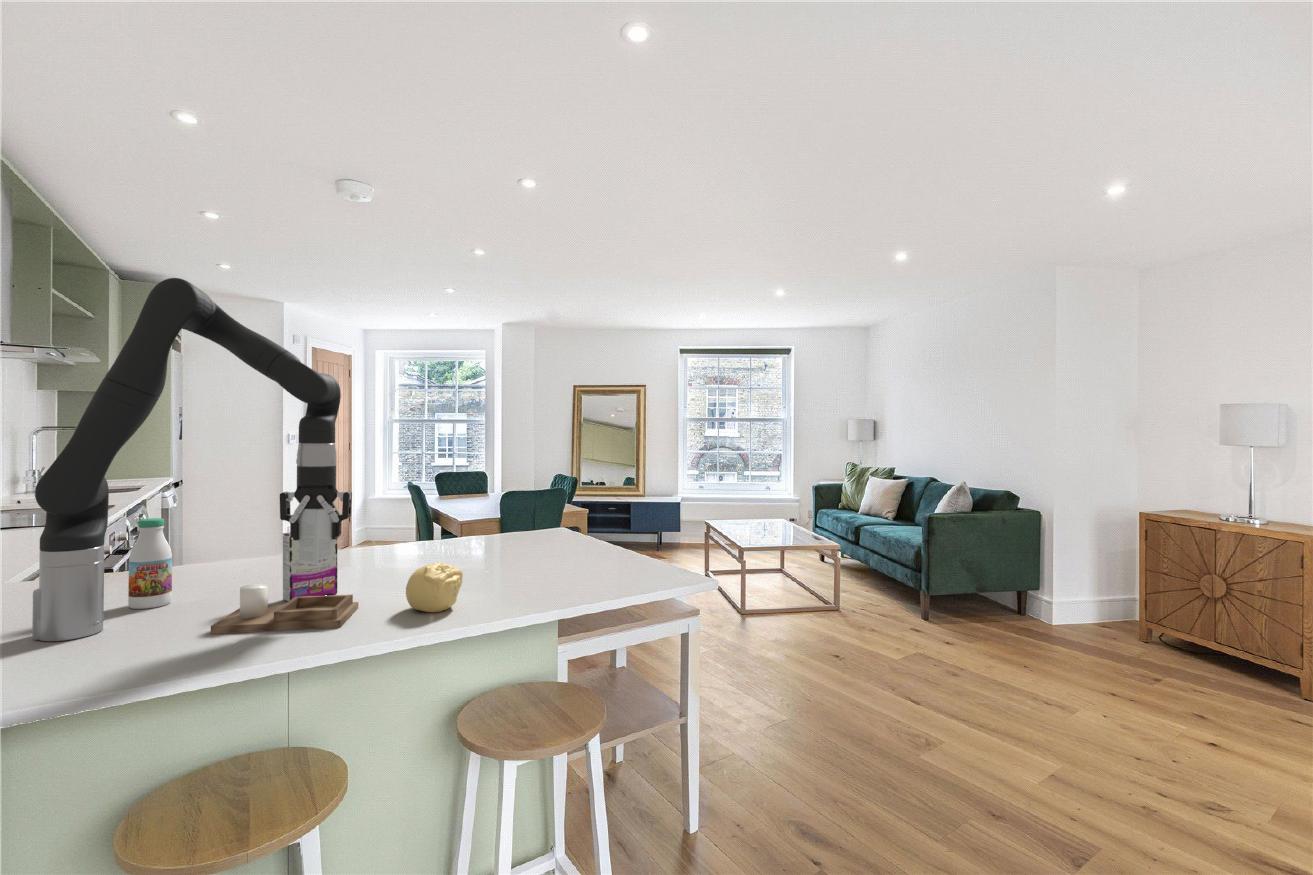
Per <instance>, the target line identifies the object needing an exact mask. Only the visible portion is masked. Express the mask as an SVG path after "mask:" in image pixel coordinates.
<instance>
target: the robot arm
mask: <svg viewBox="0 0 1313 875" xmlns="http://www.w3.org/2000/svg"><path fill="white" fill-rule="evenodd" d="M142 306H143V307H142V308H141V310H140V312H139V313H140V314H139V316H138V318H137V320H136V322H135V325H134V328H133V329H132V331H131V332H130V335H129V336H128V338H127V340H126V341H125V343H124V345H123V347H122V348H121V349H120V351H119V353H118V355H117V357H116V359H115V360H114V362H113V364H112V365H111V367H110V368H109V370H108V371H107V373H106V374H105V375H104V377H103V379H102V380H101V382H100V384H99V386H97V387H98V388H97V389H96V391H95V392H94V394H93V396H92V398H91V400H90V402H89V404H88V405H87V407H86V408H85V411H84V413H83V414H82V416H81V418H80V420H79V422H78V424H77V426H76V429H75V430H74V432H73V434H72V436H71V438H70V439H69V441H68V442H67V444H66V445H65V447H64V448H63V449H62V451H61V452H59V455H58V456H57V457H56V458H55V459H54V461H53V463H52V464H50V467H48V468H47V469H46V471H45V472H44V474H42V475H41V478H39V480H38V482H37V483H36V486H35V490H34V498H35V501H36V503H37V504H38V506H39V507H40V508H41V509H42V510H43V511H44V512H46V513H45V514H46V516H45V525H44V528H43V531H42V533H41V535H40V536H39V560H38V561H39V564H38V565H39V570H38V571H39V572H38V573H39V574H38V576H39V578H38V581H39V583H38V584H39V586H38V588H37V589H34V590H33V592H32V620H31V621H32V625H31V626H32V628H31V629H32V630H31V631H32V632H31V633H32V635H31V639H32V640H33V641H34V640H35V641H36V640H37V641H38V640H39V641H42V642H60V641H62V642H63V641H68V640H75V639H80V638H81V639H82V638H85V637H88V636H92V635H96V634H97V633H99V632H102V631H103V629H104V608H105V607H104V604H105V602H104V600H105V537H106V533H107V530H108V524H109V523H108V522H109V521H108V520H109V499H110V498H109V496H110V494H109V493H110V490H109V485H108V484H109V483H108V481H107V480H108V479H106V475H107V472H108V470H109V468H110V466H111V464H112V462H113V461H114V459H115V456H116V455H117V454H118V452H119V451H120V450H121V449H122V447H123V446H124V445H125V444H126V443H128V441H129V440H130V439H131V438H132V437H133V435H135V433H136V432H138V430H139V429H140V428H141V426H142V425H143V424H144V423H145V421H146V420H147V419H148V417H149V416H150V415H151V412H153V409H154V408H155V406H156V404H157V402H158V401H159V399H160V398H161V395H162V393H163V390H164V388H165V385H166V380H167V372H168V360H169V354H170V351H171V349H172V346H173V344H174V342H175V340H176V338H177V337H178V335H179V334H180V333H181V330H185V331H187V332H190V333H192V334H195V335H198V336H200V337H201V338H202V337H203V338H205V339H207V340H210V341H211V342H212V343H215V344H216V345H217V344H218V345H219V346H221V347H223V348H224V349H226V350H227V351H229V353H232V354H233V355H234V356H235V357H236V358H238V359H239V360H240V361H241V362H243V363H244V364H246V365H248V366H249V367H250V368H251V369H253V370H256V371H257V372H259V373H260V374H262V375H263V376H265V377H266V378H268V379H269V380H272V381H274V382H276V384H278V385H279V386H280V387H281V388H282V389H283V390H285V391H286V392H288V393H289V394H290V396H292V397H294V398H296V399H297V400H298V401H301V402H302V403H305V404H306V410H305V411H306V412H305V415H304V416H303V417H301V418H300V420H299V424H298V446H297V451H296V452H297V453H296V460H295V461H296V462H295V463H296V489H295V491H293V492H292V491H291V492H289V491H283V492H281V493H280V494H279V518H280V520H281V521H285V522H288V523H289V524H290V528H289V530H290V532H289V533H290V536H291V538H293V540H299V516H300V515H301V514H302V512H303V510H304V509H326V512H327V514H329V515H330V517H331V518H332V520H333V523H332V539H337V540H338V539H339V537H340V536H342V523H343V521H344V520H347V519H349V518H351V517H352V504H353V503H352V500H353V493H352V491H350V490H348V491H338V489H337V448H336V421H337V418H338V414H339V409H340V404H341V397H342V394H341V387H340V384H339V382H338V380H337V379H336V378H335V377H334V376H332V375H330V374H326V373H322V372H319V371H317V370H314V369H312V368H311V367H309V366H308V365H306V364H304V362H303V363H302V362H301V360H300V358H299V357H297V356H296V355H295V354H293V353H292V352H290V351H289V350H288V349H286V348H284V347H283V346H281V345H280V344H278V343H276V342H275V341H273V340H271V339H270V338H267V337H265V336H264V335H262V334H260V333H258V332H256V331H254V330H252V329H250V328H248V327H246V326H245V325H243V324H242V323H240V322H239V321H237V320H236V319H235V318H233V317H232V316H230V314H228V313H227V312H226V311H224V310H223V308H221V307H220V306H219V305H218V304H217V303H216V302H214V301H213V300H212V298H211V297H210V296H209V295H208V294H207V293H206V292H204V291H203V290H201V289H200V288H198V287H197V286H196V285H194V284H192V283H191V282H189V281H188V280H185V279H184V278H179V277H171V278H169V277H168V278H166V279H163V280H162V281H160V282H158V283H157V284H156V285H155V286H154V287H152V289H151V290H150V292H149V294H148V296H147V297H146V299H145V302H144V304H143V305H142ZM294 498H295V499H296V501H297V502H298V506H297V507H296V508H295V510H294V512H293V513H292V514H291V502H293V501H294V500H293V499H294ZM337 498H339V501H340V502H341V503H342V508H341V510H342V512H341V513H340V512H339V509H338V508H337V506H336V504H335V503H334V501H336V499H337Z"/></svg>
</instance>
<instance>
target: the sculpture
mask: <svg viewBox="0 0 1313 875" xmlns="http://www.w3.org/2000/svg"><path fill="white" fill-rule="evenodd" d="M463 575H464V574H463V572H462V570H461V569H460V568H458V567H456V566H455V565H449V564H447V563H443V562H440V561H437V562H433V563H432V564H427V565H424V566H421V567H419V568H417V569H416V570H414V572H412V573H411V575H410V576H409V578H408V580H407V583H406V586H405V597H406V600H407V603H408V604H409V606H410V607H411V608H412V609H414V610H417V611H421V612H426V613H439V612H443V610H444V611H446V610H448V609H450V608H451V607H453V606H454V605H455V604H456V602H458V601H457V600H458V595H459V592H460V589H461V587H462V585H463V577H464V576H463Z"/></svg>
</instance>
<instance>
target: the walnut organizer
mask: <svg viewBox="0 0 1313 875" xmlns="http://www.w3.org/2000/svg"><path fill="white" fill-rule="evenodd" d="M239 588H240V589H239V607H238V609H235V610H234V611H233V612H231V613H230V614H228V615H226V616H225V617H223V618H221V619H220V620H218V621H216V622H215V623H213V624H212V625H211V626H210V635H211V634H229V633H231V634H233V633H252V632H255V633H256V632H273V631H290V630H291V631H292V630H294V631H295V630H296V631H297V630H310V629H311V630H314V629H315V630H316V629H317V630H318V629H335V628H336V629H337V628H341V627H343V626H344V625H345V623H346V622H347V621H348V620H349V619H350V618H351V617H352V616H353V615H354V613H356V611H357V610H358V609H359V601H353V599H354V596H353V595H354V594H333V595H327V596H300V597H294V598H293V599H291V600H290V601H289V602H287V601H286V603H284V604H273V605H272V604H271V605H269V603H268V602H269V600H268V599H269V585H268V584H266V583H254V584H247V585H244V586H241V587H239ZM352 614H353V615H352Z"/></svg>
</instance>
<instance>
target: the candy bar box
mask: <svg viewBox="0 0 1313 875" xmlns="http://www.w3.org/2000/svg"><path fill="white" fill-rule="evenodd" d="M298 541H299V540H293V538H291V536H290V532H284V533H282V600H283V601H284V602H286V603H287V602H289V601H290V600H291V599H293V598H294V597H300V596H325V595H338V539H333V562H331V563H326V564H321V565H310V564H303V563H298Z"/></svg>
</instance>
